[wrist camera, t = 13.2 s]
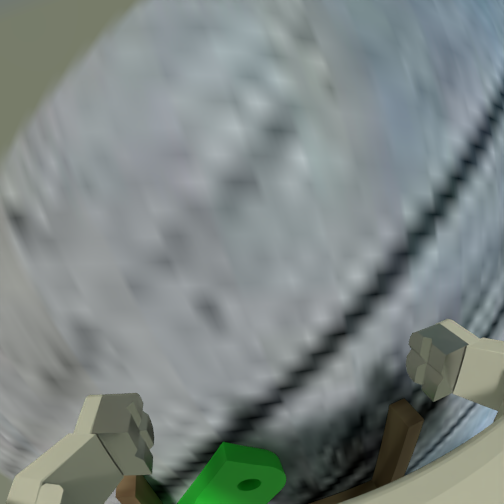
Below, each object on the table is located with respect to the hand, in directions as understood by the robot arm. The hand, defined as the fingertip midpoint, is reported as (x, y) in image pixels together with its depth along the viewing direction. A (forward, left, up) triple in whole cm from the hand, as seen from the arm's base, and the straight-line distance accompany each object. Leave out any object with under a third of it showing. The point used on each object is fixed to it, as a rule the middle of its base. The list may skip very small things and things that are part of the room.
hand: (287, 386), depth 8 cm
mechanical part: (+4, +18, -9) cm, 20 cm away
